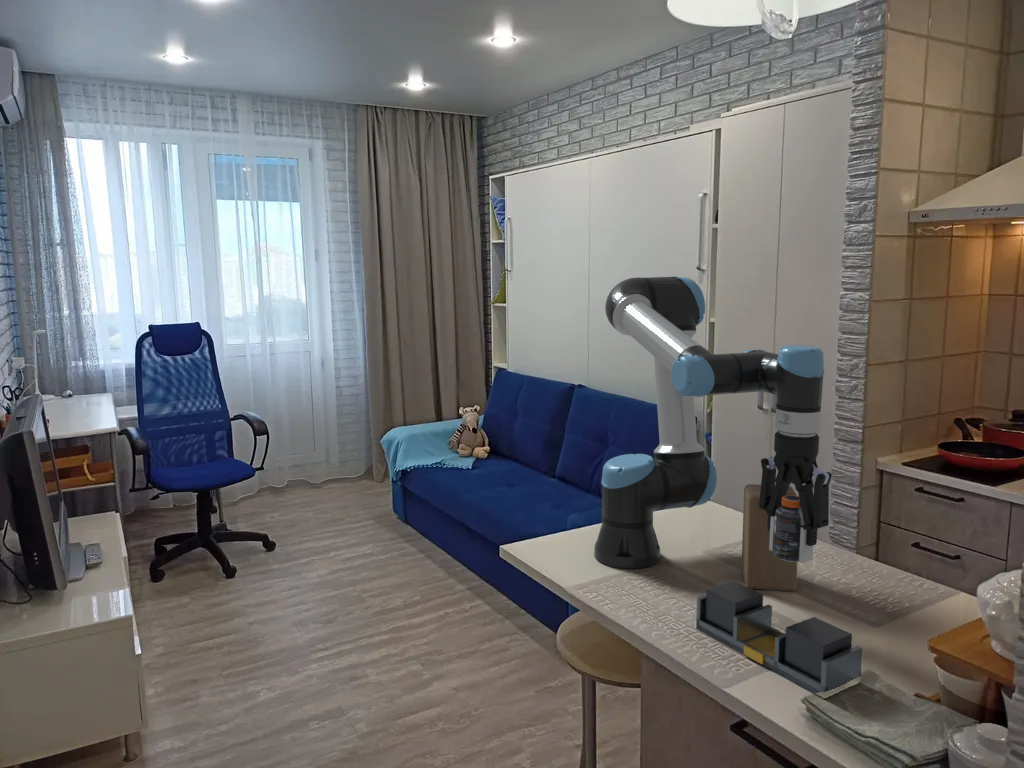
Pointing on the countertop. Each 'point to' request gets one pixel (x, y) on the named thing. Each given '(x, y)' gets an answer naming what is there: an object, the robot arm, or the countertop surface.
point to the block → (762, 548)
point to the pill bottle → (788, 529)
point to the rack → (779, 639)
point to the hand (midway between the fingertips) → (790, 554)
